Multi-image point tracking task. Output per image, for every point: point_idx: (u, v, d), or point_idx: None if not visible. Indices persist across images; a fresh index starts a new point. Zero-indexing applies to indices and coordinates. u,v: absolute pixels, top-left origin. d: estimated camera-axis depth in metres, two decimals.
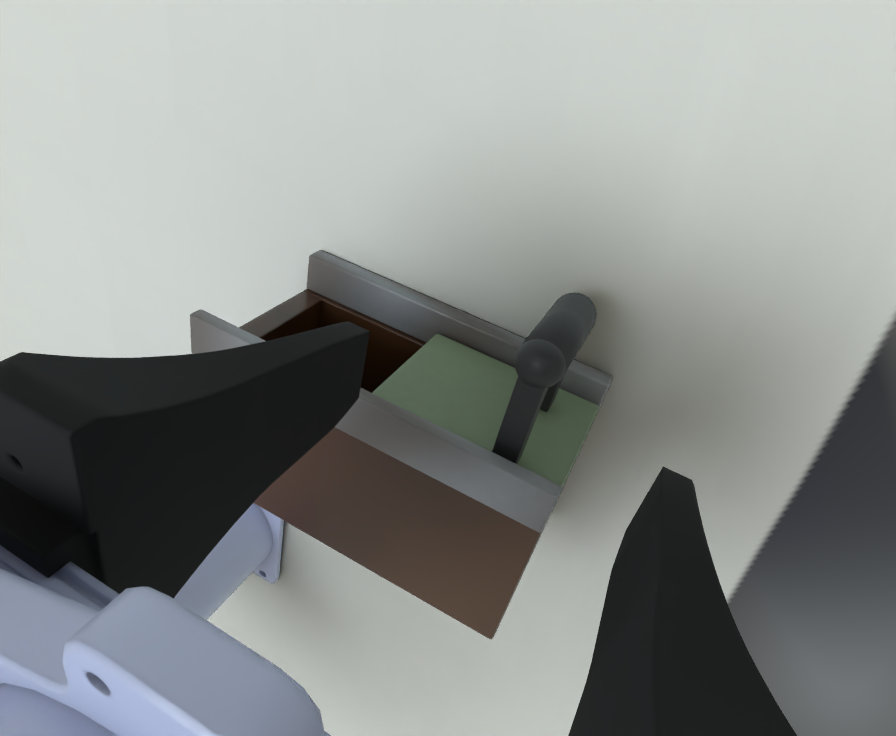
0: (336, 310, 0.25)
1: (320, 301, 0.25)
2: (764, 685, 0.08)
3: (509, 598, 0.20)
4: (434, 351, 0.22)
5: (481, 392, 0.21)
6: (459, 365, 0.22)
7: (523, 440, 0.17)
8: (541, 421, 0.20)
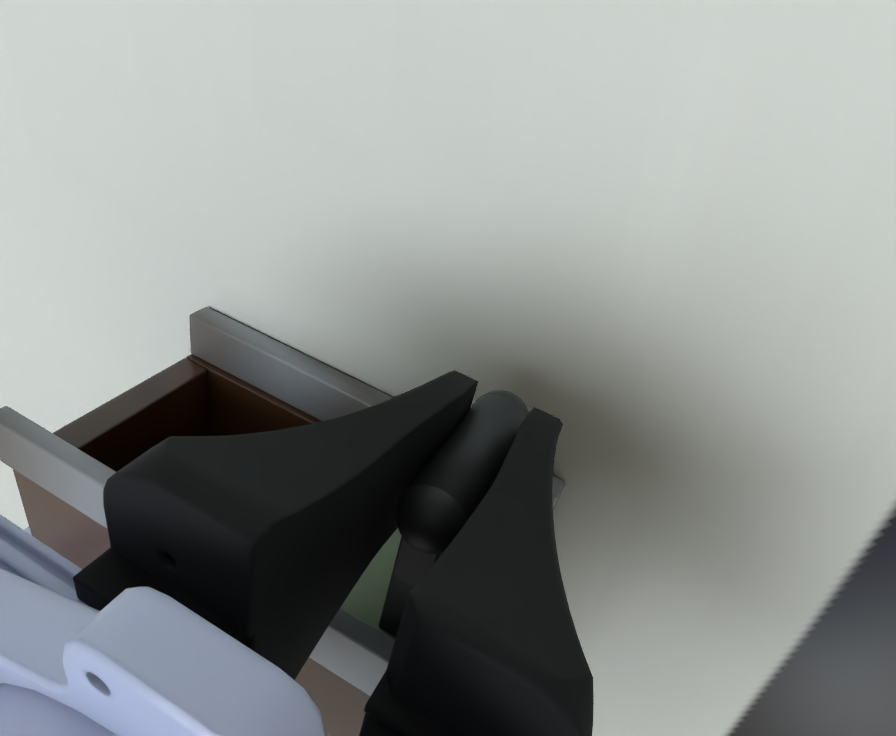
0: (225, 382, 0.20)
1: (205, 371, 0.20)
2: (555, 574, 0.08)
3: None
4: None
5: None
6: None
7: None
8: None
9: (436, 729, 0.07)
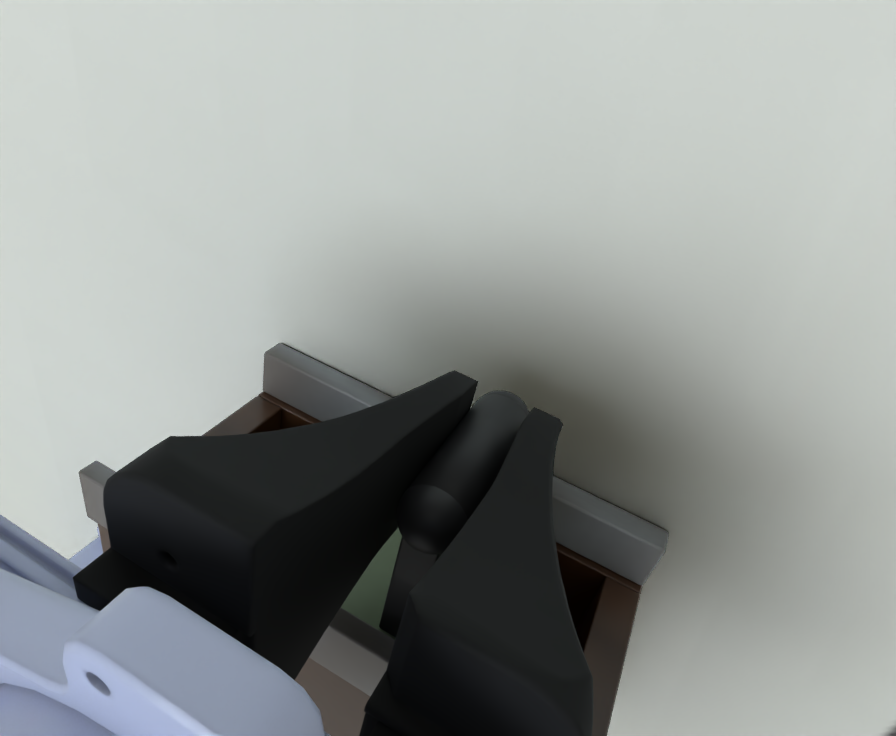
0: (300, 421, 0.19)
1: (279, 410, 0.19)
2: (555, 574, 0.08)
3: None
4: None
5: None
6: None
7: None
8: None
9: (436, 729, 0.07)
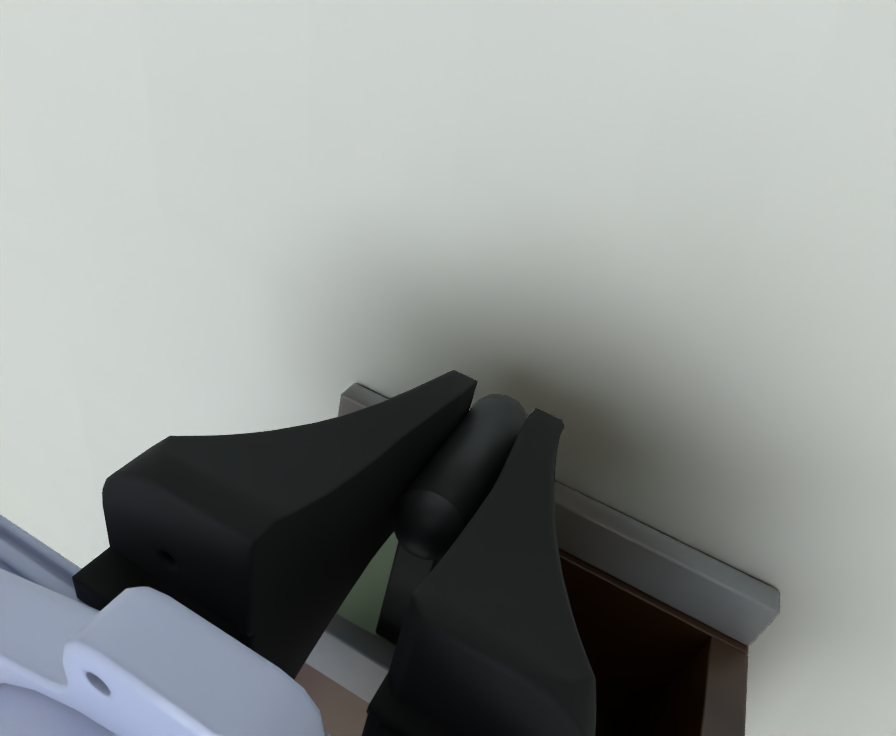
0: None
1: None
2: (557, 576, 0.08)
3: None
4: None
5: None
6: None
7: None
8: None
9: (438, 731, 0.07)
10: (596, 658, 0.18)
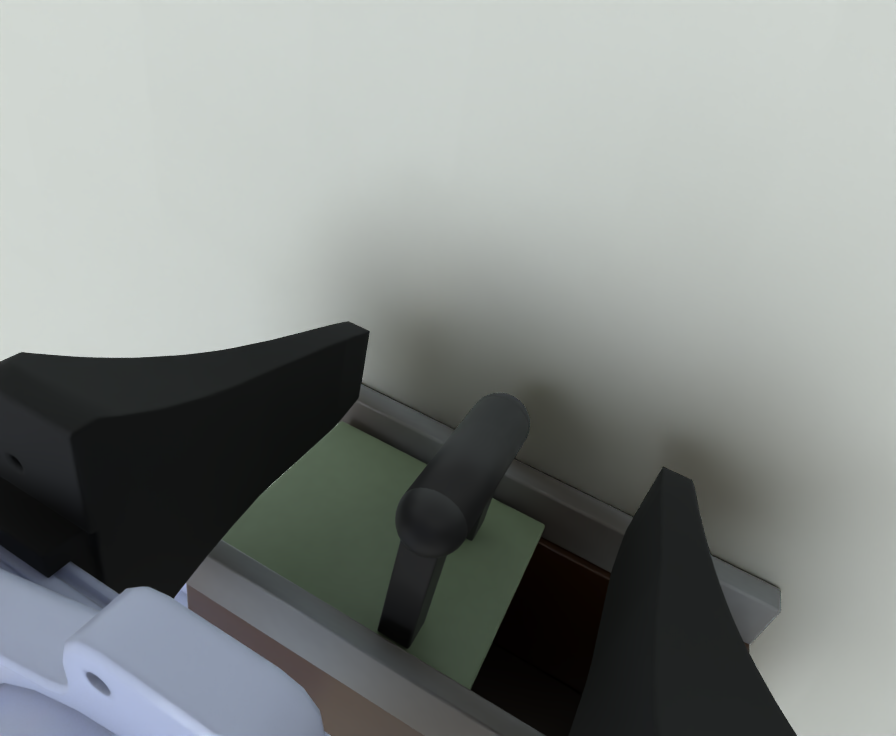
0: None
1: None
2: (764, 685, 0.08)
3: None
4: (332, 449, 0.17)
5: (385, 514, 0.16)
6: (362, 470, 0.17)
7: (416, 616, 0.12)
8: (461, 558, 0.15)
9: None
10: None
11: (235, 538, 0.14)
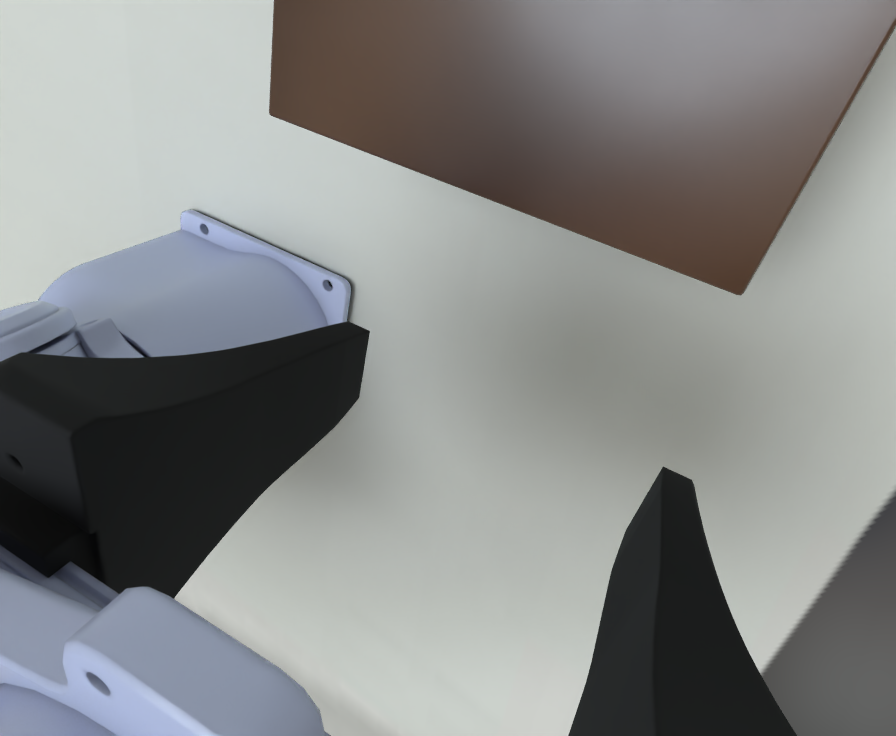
0: None
1: None
2: (764, 685, 0.08)
3: (800, 188, 0.12)
4: None
5: None
6: None
7: None
8: None
9: None
10: None
11: None
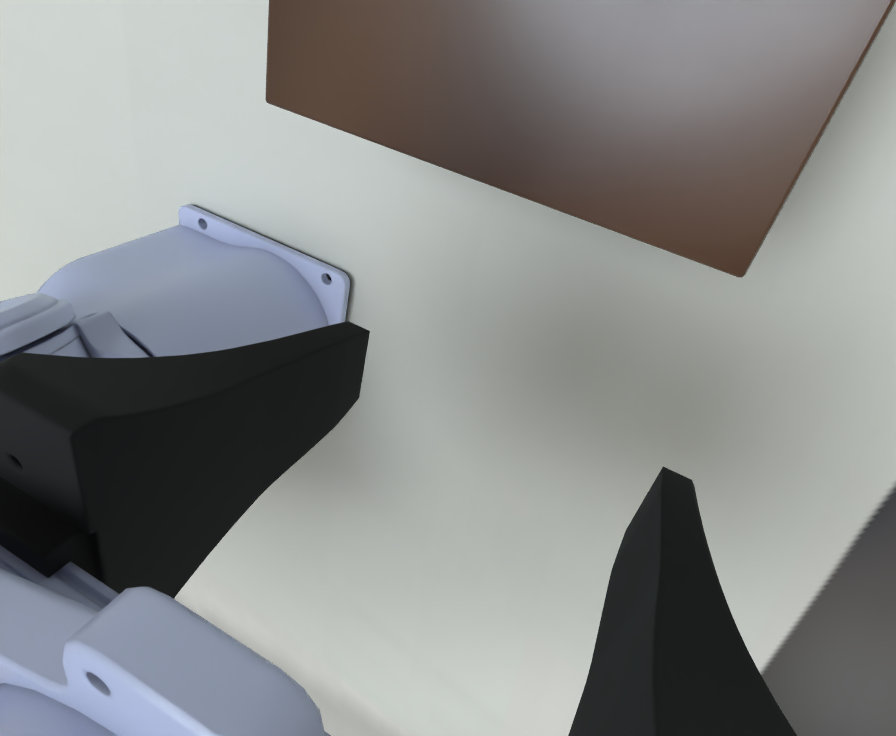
0: None
1: None
2: (764, 685, 0.08)
3: (801, 166, 0.12)
4: None
5: None
6: None
7: None
8: None
9: None
10: None
11: None
